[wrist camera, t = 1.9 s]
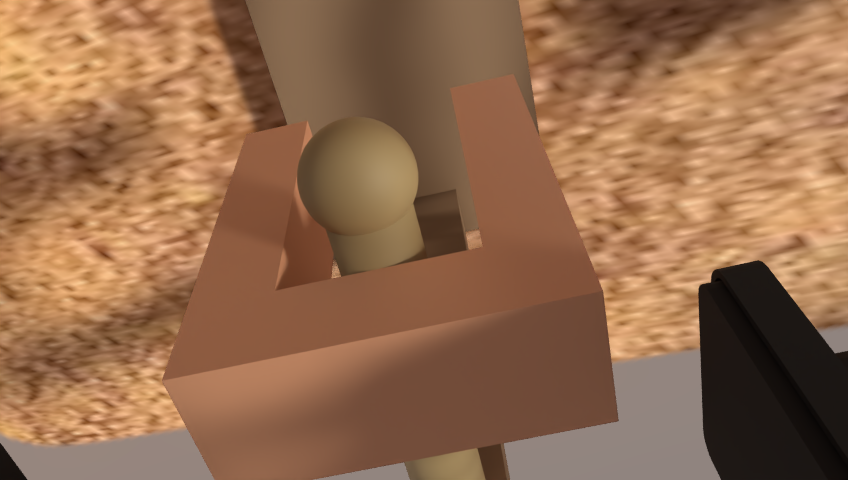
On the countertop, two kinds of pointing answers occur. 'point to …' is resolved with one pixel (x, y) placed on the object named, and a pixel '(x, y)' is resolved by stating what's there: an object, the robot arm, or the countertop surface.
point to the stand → (391, 132)
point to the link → (391, 319)
